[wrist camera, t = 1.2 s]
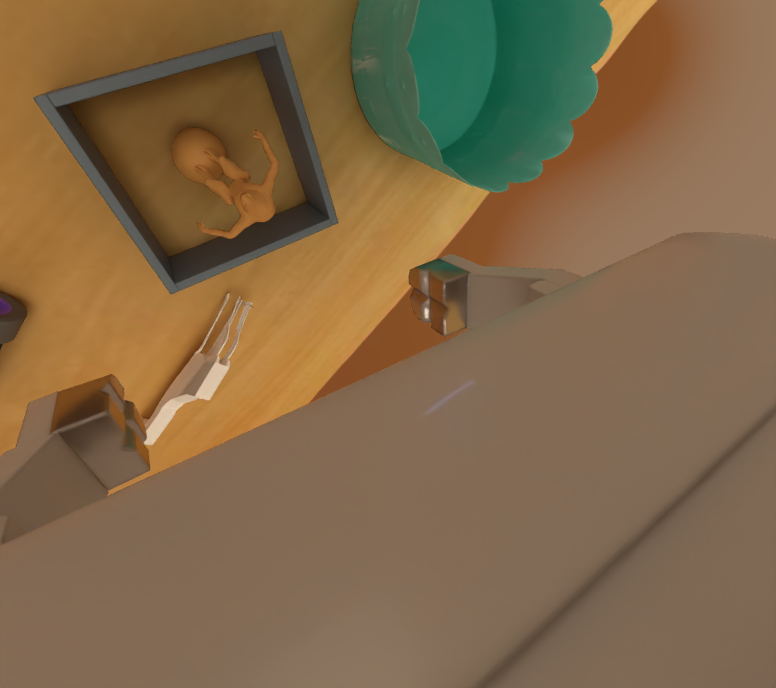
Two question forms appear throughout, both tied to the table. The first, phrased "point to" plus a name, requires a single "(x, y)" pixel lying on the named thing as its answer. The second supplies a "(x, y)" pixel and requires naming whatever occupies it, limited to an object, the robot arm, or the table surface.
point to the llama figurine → (196, 376)
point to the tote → (221, 250)
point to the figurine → (209, 162)
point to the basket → (478, 80)
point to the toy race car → (10, 318)
